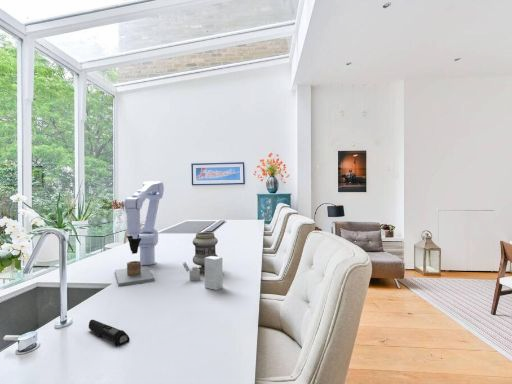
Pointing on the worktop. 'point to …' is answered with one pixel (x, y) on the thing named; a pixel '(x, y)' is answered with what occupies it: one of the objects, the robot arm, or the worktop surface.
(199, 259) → the apothecary jar
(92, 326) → the electric trimmer
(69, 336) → the worktop surface
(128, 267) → the walnut bead
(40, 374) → the worktop surface
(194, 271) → the lighter
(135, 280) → the grey peg base
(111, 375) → the worktop surface
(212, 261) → the skincare box
